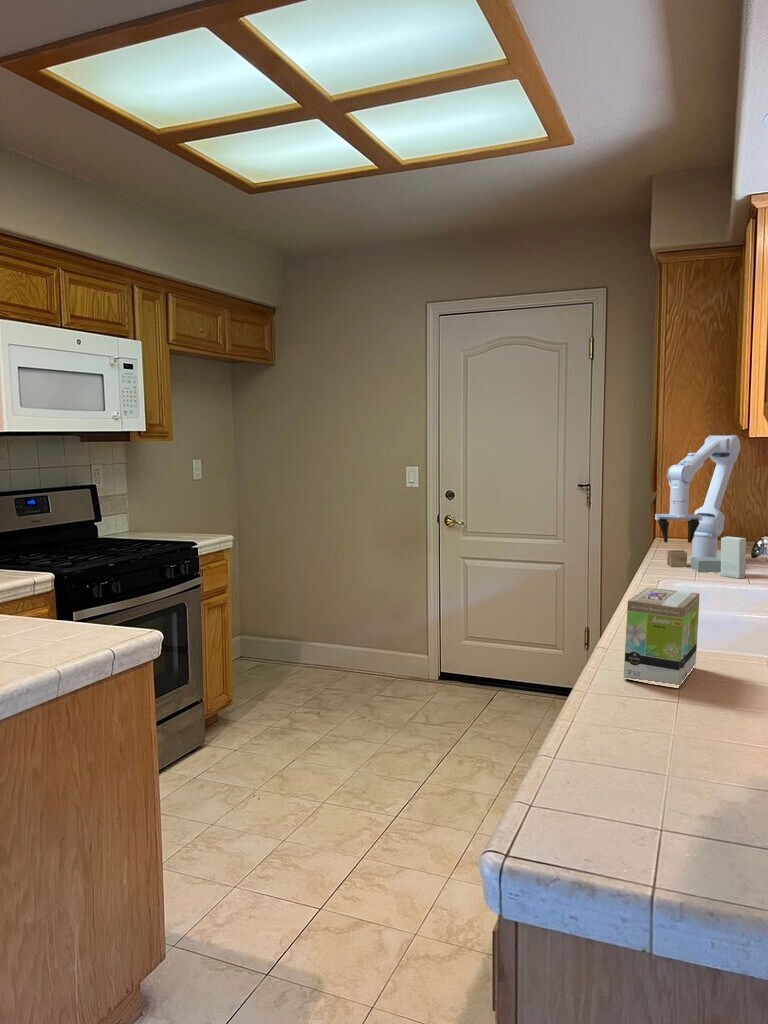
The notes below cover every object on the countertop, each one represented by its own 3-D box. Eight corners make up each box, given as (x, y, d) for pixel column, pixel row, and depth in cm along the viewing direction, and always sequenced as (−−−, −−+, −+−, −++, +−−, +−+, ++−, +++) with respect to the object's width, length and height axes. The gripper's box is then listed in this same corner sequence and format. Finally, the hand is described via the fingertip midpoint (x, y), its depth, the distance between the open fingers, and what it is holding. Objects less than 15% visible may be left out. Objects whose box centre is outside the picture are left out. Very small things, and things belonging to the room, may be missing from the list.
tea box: (681, 691, 130) (684, 606, 128) (622, 681, 135) (624, 599, 133) (697, 668, 142) (700, 590, 141) (642, 659, 148) (644, 585, 146)
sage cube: (715, 567, 249) (715, 552, 248) (730, 567, 249) (730, 552, 249) (722, 569, 244) (723, 554, 243) (737, 569, 244) (738, 554, 244)
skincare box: (745, 577, 231) (747, 537, 230) (738, 578, 228) (740, 539, 227) (726, 574, 236) (727, 535, 235) (719, 576, 233) (720, 537, 232)
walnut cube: (667, 564, 254) (667, 550, 253) (682, 565, 253) (683, 550, 252) (670, 567, 249) (671, 552, 248) (686, 567, 248) (687, 552, 247)
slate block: (690, 569, 246) (691, 557, 246) (712, 569, 246) (713, 557, 245) (698, 573, 239) (698, 560, 239) (720, 573, 239) (721, 560, 238)
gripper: (659, 502, 245) (657, 543, 247) (705, 502, 244) (704, 544, 245) (654, 500, 252) (652, 540, 254) (699, 500, 251) (697, 541, 252)
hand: (677, 542), depth 250 cm, fingers open, 7 cm apart
